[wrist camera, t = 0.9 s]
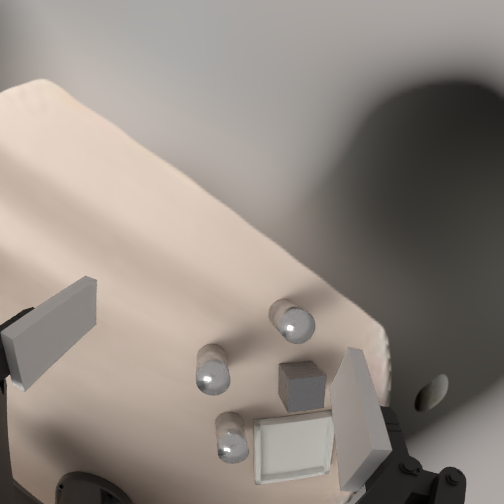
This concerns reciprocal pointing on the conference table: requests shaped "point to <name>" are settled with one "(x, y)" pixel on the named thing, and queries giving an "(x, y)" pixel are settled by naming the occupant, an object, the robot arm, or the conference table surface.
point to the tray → (292, 447)
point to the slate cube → (301, 386)
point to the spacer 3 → (292, 321)
